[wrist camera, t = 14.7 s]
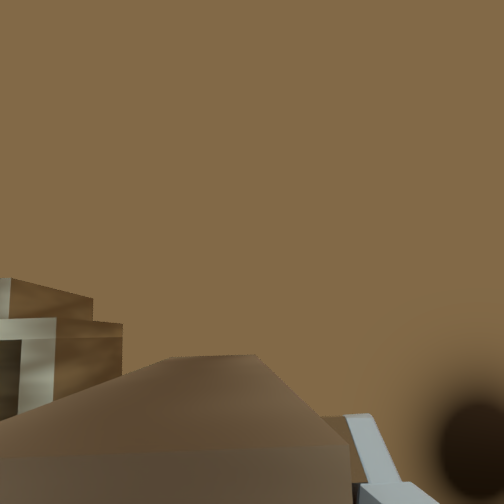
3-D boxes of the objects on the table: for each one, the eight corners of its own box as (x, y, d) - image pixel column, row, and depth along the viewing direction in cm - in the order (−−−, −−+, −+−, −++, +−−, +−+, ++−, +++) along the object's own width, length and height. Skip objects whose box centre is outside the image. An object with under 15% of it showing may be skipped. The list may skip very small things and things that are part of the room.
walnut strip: (256, 420, 21) (255, 354, 22) (373, 849, 4) (349, 444, 4) (171, 423, 21) (171, 357, 22) (-158, 892, 3) (-111, 462, 4)
